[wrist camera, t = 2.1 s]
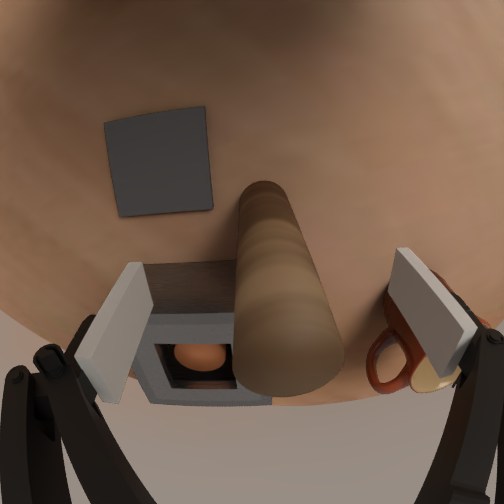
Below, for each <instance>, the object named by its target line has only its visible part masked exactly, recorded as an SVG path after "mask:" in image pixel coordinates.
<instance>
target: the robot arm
mask: <svg viewBox="0 0 504 504" xmlns="http://www.w3.org/2000/svg"><path fill="white" fill-rule="evenodd" d="M388 293H389V294H390V296H391V298H392V299H393V301H394V302H395V304H396V305H397V307H398V308H399V310H400V312H401V313H402V315H403V316H404V318H405V320H406V321H407V323H408V325H409V326H410V328H411V330H412V331H413V333H414V335H415V336H416V338H417V340H418V341H419V343H420V345H421V347H422V348H423V350H424V352H425V353H426V355H427V357H428V359H429V361H430V362H431V364H432V366H433V368H434V370H435V371H436V373H437V375H438V377H439V379H440V378H444V377H447V376H450V375H453V373H454V371H455V370H456V368H457V366H459V367H460V369H461V372H460V374H459V375H458V377H457V379H456V380H455V382H454V383H453V385H452V388H454V386H455V385H456V384H457V385H456V389H455V393H454V397H453V401H452V405H451V409H450V412H449V416H448V419H447V422H446V425H445V429H444V432H443V435H442V438H441V441H440V444H439V446H438V449H437V452H436V455H435V457H434V460H433V462H432V465H431V467H430V470H429V472H428V475H427V477H426V479H425V481H424V484H423V486H422V488H421V490H420V492H419V494H418V497H417V499H416V501H415V503H414V504H490V497H488V496H487V495H486V494H485V491H486V487H487V483H488V480H489V476H490V473H491V469H492V464H493V461H494V456H495V451H496V446H498V456H497V457H498V458H497V483H496V494H495V504H504V336H503V335H502V334H501V333H500V332H499V331H497V330H495V329H491V328H489V329H486V328H485V327H484V326H483V324H482V323H481V322H480V321H479V319H478V318H477V317H476V316H475V314H474V313H473V312H472V311H470V308H469V307H468V306H467V305H466V304H465V302H464V301H463V300H462V299H461V298H460V297H459V296H458V295H456V294H455V293H453V292H449V291H448V290H447V289H446V288H445V287H444V286H443V284H442V283H441V282H440V281H439V280H438V279H437V278H436V277H435V275H434V274H433V273H432V272H431V271H430V270H429V269H428V268H427V267H426V266H425V264H424V263H423V262H422V261H421V260H420V259H419V258H418V257H417V256H416V255H415V254H414V253H413V252H412V251H411V250H410V249H409V248H408V247H406V248H396V253H395V258H394V263H393V268H392V273H391V278H390V282H389V287H388ZM152 308H153V301H152V298H151V294H150V291H149V287H148V283H147V279H146V276H145V272H144V268H143V264H142V262H128V264H127V266H126V267H125V269H124V270H123V272H122V273H121V275H120V277H119V278H118V280H117V281H116V283H115V285H114V286H113V288H112V290H111V291H110V293H109V295H108V296H107V298H106V300H105V301H104V303H103V305H102V306H101V308H100V310H99V311H98V313H97V315H90V316H88V317H87V318H86V319H85V320H84V321H83V322H82V324H81V325H80V327H79V329H78V331H77V332H76V334H75V336H74V338H73V339H72V341H71V343H70V344H69V346H68V348H67V350H66V352H65V353H63V351H62V349H61V348H60V346H58V345H56V344H48V345H45V346H43V347H41V348H40V349H39V350H38V351H37V352H36V353H35V355H34V357H33V363H34V364H35V366H36V367H37V369H38V370H39V372H40V373H32V374H31V373H30V372H29V370H28V369H27V368H26V367H25V366H23V365H19V366H16V367H14V368H12V369H11V370H10V371H9V372H8V374H7V376H6V379H5V385H4V392H3V400H2V410H1V422H0V483H1V495H2V504H72V502H71V498H70V493H69V488H68V483H67V478H66V472H65V466H64V460H63V452H62V444H61V438H62V441H63V443H64V446H65V449H66V451H67V454H68V456H69V458H70V461H71V463H72V465H73V468H74V470H75V473H76V475H77V477H78V479H79V481H80V483H81V485H82V487H83V489H84V492H85V493H86V495H87V497H88V499H89V501H90V503H91V504H157V503H156V502H155V501H154V499H153V498H152V497H151V495H150V494H149V492H148V491H147V490H146V488H145V487H144V485H143V484H142V482H141V481H140V479H139V478H138V476H137V475H136V473H135V472H134V470H133V469H132V467H131V465H130V464H129V462H128V461H127V459H126V457H125V456H124V454H123V452H122V450H121V449H120V447H119V445H118V444H117V442H116V440H115V438H114V437H113V435H112V433H111V431H110V429H109V427H108V425H107V423H106V422H105V419H104V417H103V415H102V414H101V411H100V409H99V407H98V405H97V404H96V402H95V398H96V395H97V394H98V395H99V397H100V398H101V400H102V401H103V402H108V403H115V404H119V402H120V398H121V395H122V392H123V389H124V386H125V383H126V380H127V377H128V374H129V371H130V368H131V365H132V362H133V360H134V357H135V354H136V351H137V348H138V345H139V343H140V340H141V337H142V334H143V332H144V329H145V326H146V324H147V321H148V318H149V316H150V313H151V311H152Z"/></svg>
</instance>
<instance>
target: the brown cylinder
mask: <svg viewBox="0 0 504 504" xmlns="http://www.w3.org/2000/svg"><path fill="white" fill-rule="evenodd" d="M344 361H345V350H344V346H343V343H342V340H341V337H340V334H339V331H338V329H337V326H336V323H335V320H334V317H333V314H332V312H331V309H330V306H329V303H328V300H327V298H326V295H325V292H324V289H323V287H322V284H321V281H320V279H319V276H318V273H317V271H316V268H315V265H314V263H313V260H312V258H311V255H310V253H309V250H308V247H307V245H306V242H305V240H304V237H303V235H302V232H301V230H300V227H299V225H298V222H297V220H296V217H295V215H294V213H293V210H292V208H291V205H290V203H289V201H288V198H287V196H286V194H285V192H284V190H283V189H282V188H281V187H280V186H279V185H277V184H276V183H273V182H270V181H258V182H255V183H253V184H251V185H249V186H248V187H247V188H246V189H245V190H244V192H243V193H242V195H241V198H240V209H239V227H238V246H237V266H236V288H235V310H234V334H233V360H232V369H233V373H234V376H235V378H236V379H237V381H238V382H239V383H240V384H241V385H242V386H244V387H245V388H246V389H248V390H250V391H252V392H255V393H257V394H260V395H265V396H271V397H291V396H297V395H302V394H305V393H308V392H311V391H314V390H316V389H318V388H320V387H322V386H324V385H325V384H327V383H328V382H329V381H331V380H332V379H333V378H334V377H335V376H336V375H337V374H338V372H339V371H340V370H341V368H342V366H343V364H344Z"/></svg>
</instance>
